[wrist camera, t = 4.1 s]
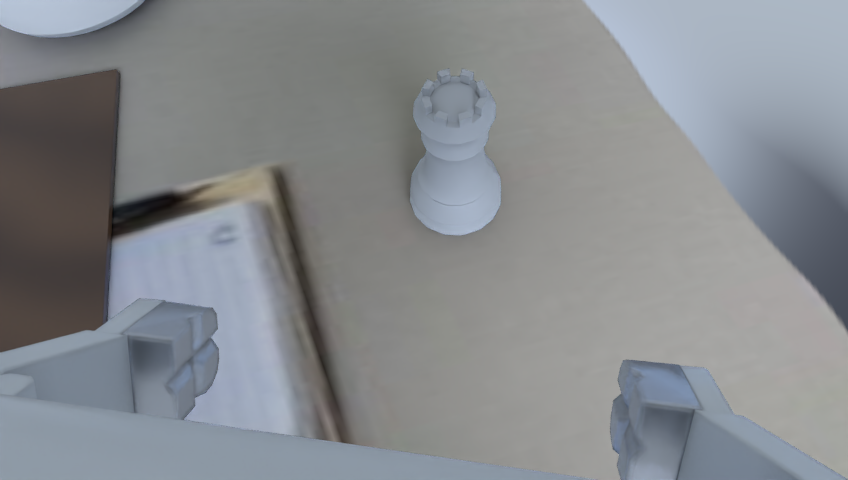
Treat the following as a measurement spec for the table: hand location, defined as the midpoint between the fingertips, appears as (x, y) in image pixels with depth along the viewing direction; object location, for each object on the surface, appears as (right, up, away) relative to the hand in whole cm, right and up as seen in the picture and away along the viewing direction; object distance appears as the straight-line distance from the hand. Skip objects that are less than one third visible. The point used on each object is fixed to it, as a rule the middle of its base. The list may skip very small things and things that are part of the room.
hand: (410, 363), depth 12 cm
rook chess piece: (+2, +4, +19) cm, 19 cm away
